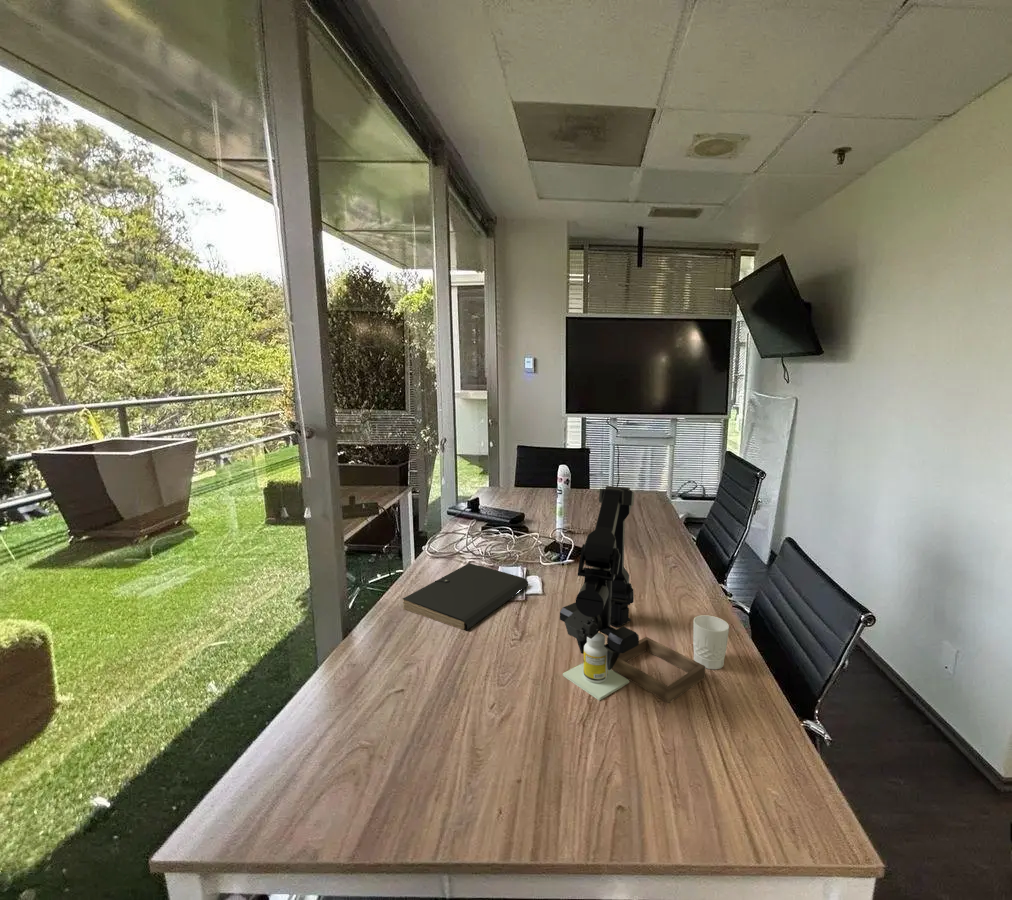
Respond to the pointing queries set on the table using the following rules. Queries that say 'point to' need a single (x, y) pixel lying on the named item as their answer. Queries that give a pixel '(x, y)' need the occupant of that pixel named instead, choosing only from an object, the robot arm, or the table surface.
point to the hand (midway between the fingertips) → (596, 660)
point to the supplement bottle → (595, 659)
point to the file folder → (464, 595)
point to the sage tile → (596, 689)
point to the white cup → (710, 641)
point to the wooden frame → (652, 684)
